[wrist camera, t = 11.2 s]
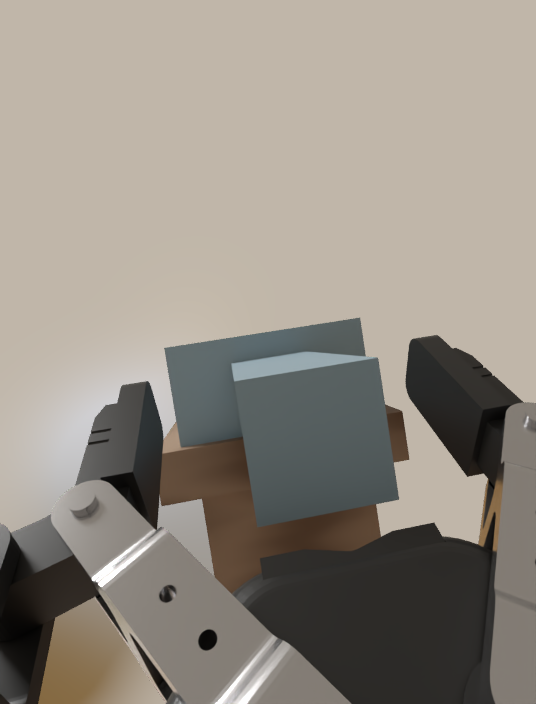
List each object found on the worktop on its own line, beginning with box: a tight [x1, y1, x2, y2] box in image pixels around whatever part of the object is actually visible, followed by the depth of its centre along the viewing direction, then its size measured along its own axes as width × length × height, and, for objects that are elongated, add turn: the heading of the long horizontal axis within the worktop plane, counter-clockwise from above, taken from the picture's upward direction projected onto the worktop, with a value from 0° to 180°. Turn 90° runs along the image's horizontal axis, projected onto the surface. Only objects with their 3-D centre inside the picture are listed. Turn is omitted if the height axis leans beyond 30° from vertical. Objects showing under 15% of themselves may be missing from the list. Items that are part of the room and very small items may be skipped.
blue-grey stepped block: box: [164, 318, 399, 527], centre depth 16 cm, size 8×16×4 cm, turn 6°
